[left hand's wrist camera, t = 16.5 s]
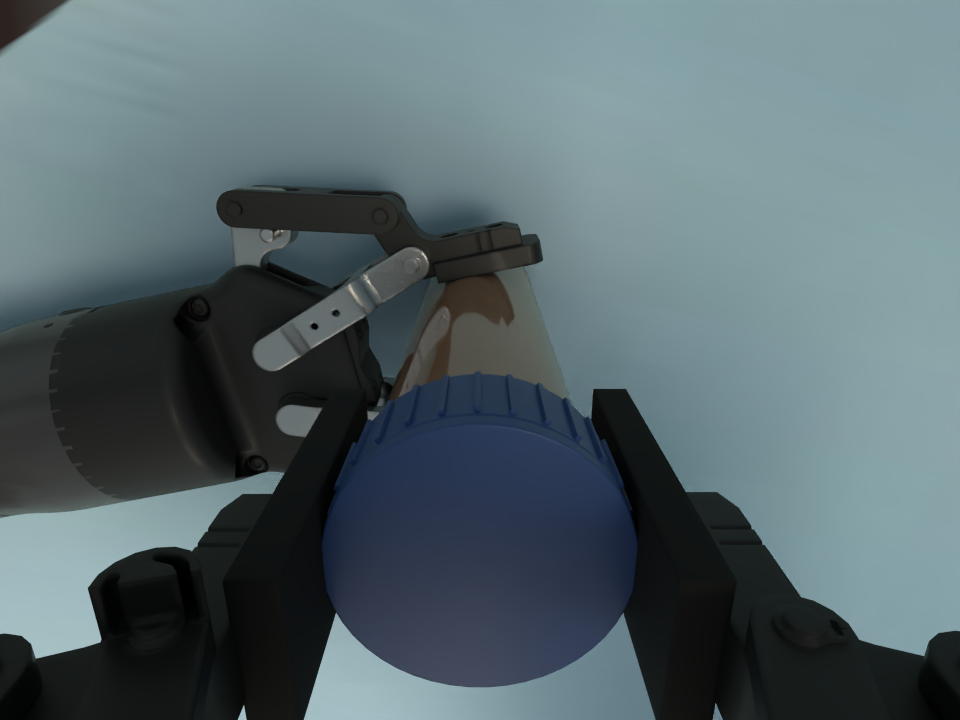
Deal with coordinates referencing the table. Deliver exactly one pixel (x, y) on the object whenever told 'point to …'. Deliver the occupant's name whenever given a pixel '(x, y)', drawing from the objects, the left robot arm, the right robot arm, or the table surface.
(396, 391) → the tan cylinder
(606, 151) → the table surface
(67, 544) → the table surface
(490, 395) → the lid
